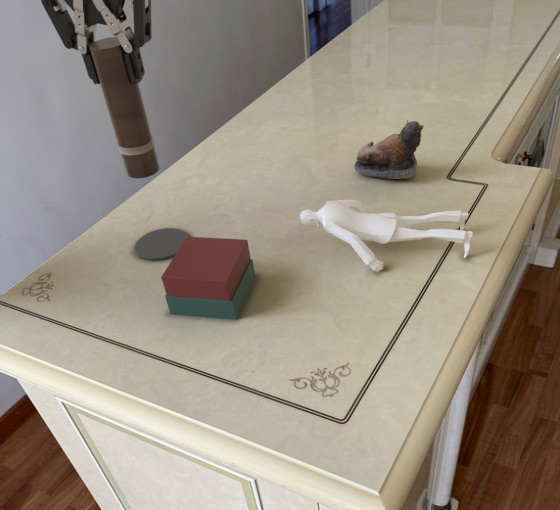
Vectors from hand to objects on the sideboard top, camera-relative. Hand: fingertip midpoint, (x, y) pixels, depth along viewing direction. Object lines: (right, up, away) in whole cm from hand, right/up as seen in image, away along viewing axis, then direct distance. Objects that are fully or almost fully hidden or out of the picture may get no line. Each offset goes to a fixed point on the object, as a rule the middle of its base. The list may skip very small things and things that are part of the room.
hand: (118, 81), depth 77 cm
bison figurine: (+41, -3, +30) cm, 50 cm away
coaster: (+2, -17, +21) cm, 27 cm away
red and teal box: (+11, -27, +9) cm, 31 cm away
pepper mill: (+2, -3, +10) cm, 11 cm away
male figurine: (+37, -19, +14) cm, 44 cm away
